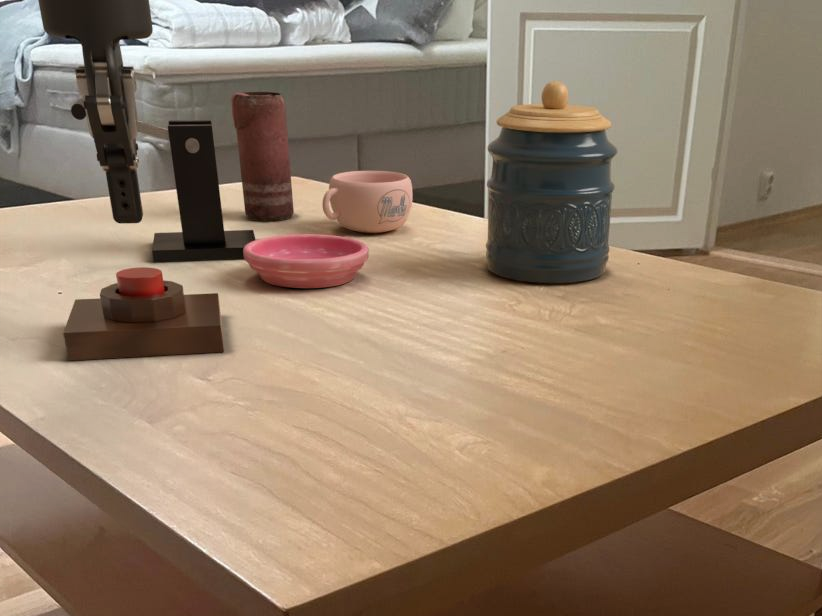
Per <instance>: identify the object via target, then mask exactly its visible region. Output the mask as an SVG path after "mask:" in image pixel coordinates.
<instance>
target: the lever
mask: <svg viewBox="0 0 822 616" xmlns="http://www.w3.org/2000/svg"><path fill="white" fill-rule="evenodd" d="M70 113H71V115H72V117H73V118H74V119H76V120H80V121H81V120H84V119H85V118H87V116H86V111H85V108H84V99H83V98H78V99H77V100H76V102H74V103H73V104H72V106H71V107H70ZM138 124H139V130H138V132H137V133H140V134H144V135H147V136H151V137H154V138H158V139H161V140H165V141H167V142H170V140H169V133H168V127H167V128H166V127H163V126H161V125H160V126H159V125H156V124H154V123H149V122H146V121H143V120H139V119H138Z"/></svg>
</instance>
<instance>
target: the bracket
mask: <svg viewBox="0 0 822 616" xmlns="http://www.w3.org/2000/svg"><path fill="white" fill-rule="evenodd" d="M212 123H213V122H212V120H211V119H176V120H175V119H174V120H173V119H172V120H170V119H169V120H168V124H167V129H168V133H169V140H170V141H169V146H170V154H171V161H172V168H173V176H174V182H175V190H176V196H177V197H176V198H177V204H178V212H179V219H180V225H181V231H176V232H175V231H173V232H154V234H153V240H152V246H151V247H152V248H151V255H152V260H153V263H170V262H171V263H172V262H196V261H199V262H200V261H221V260H225V261H226V260H245V259H244V254H243V249H244V247H245V245H247V244H248V243H250V242H252V241H255V240H257V239H256V235H255V231H254V229H238V230H237V229H233V230H232V229H231V230H225V226H224V225H225V224H224V218H223V209H222V200H221V192H220V184H219V176H218V175H219V174H218V166H217V158H216V149H215V141H214V132H213V125H212Z"/></svg>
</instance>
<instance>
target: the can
mask: <svg viewBox="0 0 822 616" xmlns="http://www.w3.org/2000/svg"><path fill="white" fill-rule="evenodd" d="M231 96H232V97H231V99H230V100H231V102H230V103H231V116H232V121H233V125H234V129H235V130H236V140H237V148H238V158H239V167H240V177H241V186H242V195H243V196H242V198H243V204H244V213H245V215H246V217H247V218H248V219H249V220H252V221H256V222H257V221H258V222H279V221H280V222H281V221H286V220H290V219H291V218H292V217H293V215H294V213H295V211H294V198H293V187H292V186H293V185H292V173H291V162H290V149H289V138H288V137H289V136H288V125H287V123H288V122H287V114H286V113H287V112H286V102H285V99H284V97H283V96H282V93H280V92H274V91H273V92H271V91H244V92H235V93H233V94H232V95H231Z"/></svg>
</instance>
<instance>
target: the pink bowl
mask: <svg viewBox="0 0 822 616" xmlns="http://www.w3.org/2000/svg"><path fill="white" fill-rule="evenodd" d="M243 254H244V259H243V260H245V262H247V263H248V265H249V267H250V268H251V269H252V270H253V271H255V272H257V274H258V275H259V277H260V279H261V280H262V281H264V282H265V283H267V284H270V285H273V286H276V287H277V286H278V287H282V288H292V289H321V288H331V287H335V286H340V285H344V284H347V283H349V282H351V281H353V280H354V279H355V278H356V275H357V274H358V271H360V270H361V269H362V268H363V267H364V266H365V262H367V261H368V259H369V247H368V245H367V244H366V243H364V241H360V240H359V239H354V238H350V237H345V236H341V235H340V236H339V235H330V234H316V233H314V234H313V233H302V234H301V233H300V234H283V235H274V236H269V237H263V238H259V239H256V240H255V241H252V242H250V243H248V244H247V245H245V247H244V249H243Z"/></svg>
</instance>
